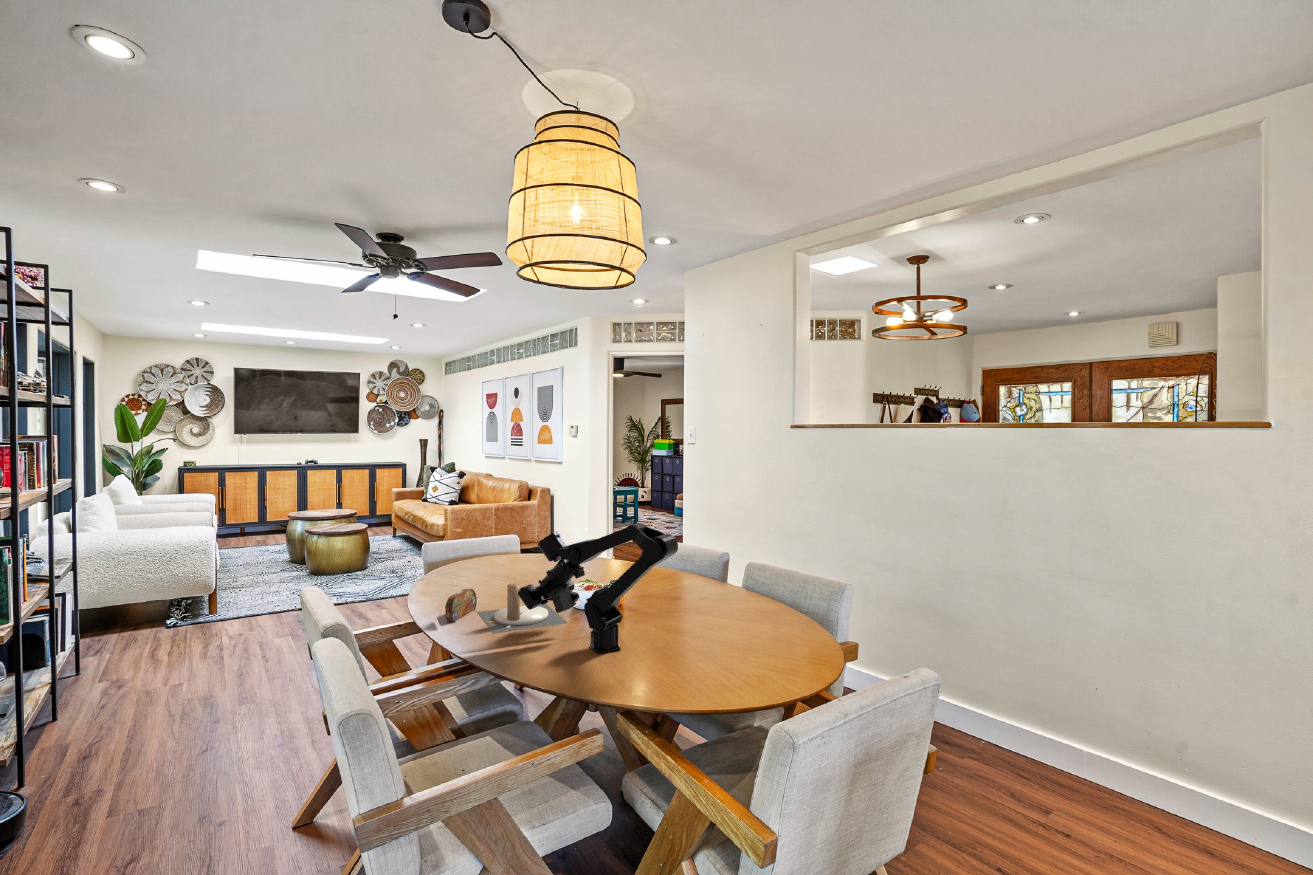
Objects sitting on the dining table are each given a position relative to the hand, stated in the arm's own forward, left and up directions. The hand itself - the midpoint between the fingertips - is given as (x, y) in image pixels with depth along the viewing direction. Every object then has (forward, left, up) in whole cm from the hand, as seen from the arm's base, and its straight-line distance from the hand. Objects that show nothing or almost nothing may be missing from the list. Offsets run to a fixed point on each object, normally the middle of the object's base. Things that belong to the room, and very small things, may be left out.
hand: (531, 607), depth 182 cm
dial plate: (0, -11, -7) cm, 13 cm away
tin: (+16, -20, -7) cm, 27 cm away
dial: (0, -11, -6) cm, 12 cm away
